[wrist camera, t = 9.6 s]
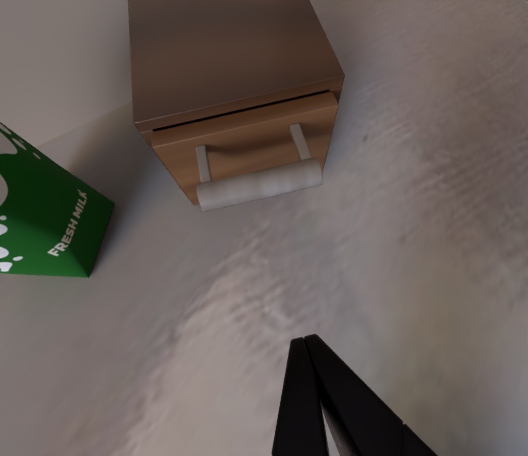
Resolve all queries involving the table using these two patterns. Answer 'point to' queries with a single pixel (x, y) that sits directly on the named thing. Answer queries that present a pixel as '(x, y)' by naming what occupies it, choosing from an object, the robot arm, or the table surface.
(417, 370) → the table surface
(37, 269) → the milk carton
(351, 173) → the table surface
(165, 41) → the cabinet
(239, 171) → the drawer
